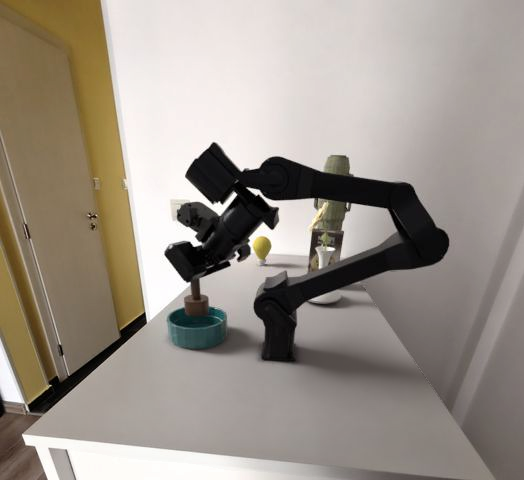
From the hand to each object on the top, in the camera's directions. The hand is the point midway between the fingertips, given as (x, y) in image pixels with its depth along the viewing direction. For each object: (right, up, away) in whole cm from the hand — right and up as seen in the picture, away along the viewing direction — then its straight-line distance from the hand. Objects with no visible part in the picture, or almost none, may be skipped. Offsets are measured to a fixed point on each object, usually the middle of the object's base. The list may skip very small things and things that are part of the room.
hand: (189, 279), depth 65 cm
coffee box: (+32, +6, +38) cm, 50 cm away
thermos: (+35, +13, +50) cm, 63 cm away
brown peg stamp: (+1, -6, +3) cm, 7 cm away
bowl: (+1, -11, +5) cm, 12 cm away
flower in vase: (+29, -1, +26) cm, 39 cm away
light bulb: (+14, +17, +56) cm, 61 cm away
